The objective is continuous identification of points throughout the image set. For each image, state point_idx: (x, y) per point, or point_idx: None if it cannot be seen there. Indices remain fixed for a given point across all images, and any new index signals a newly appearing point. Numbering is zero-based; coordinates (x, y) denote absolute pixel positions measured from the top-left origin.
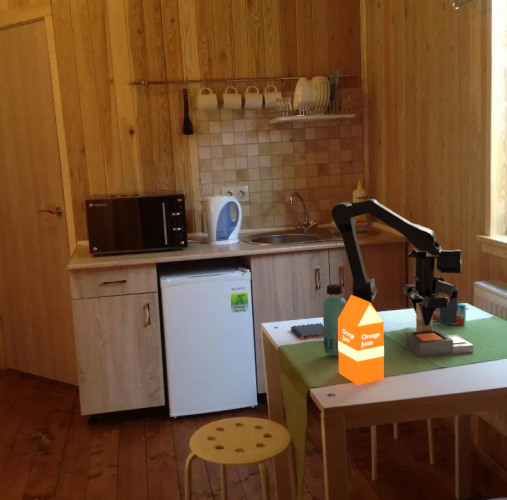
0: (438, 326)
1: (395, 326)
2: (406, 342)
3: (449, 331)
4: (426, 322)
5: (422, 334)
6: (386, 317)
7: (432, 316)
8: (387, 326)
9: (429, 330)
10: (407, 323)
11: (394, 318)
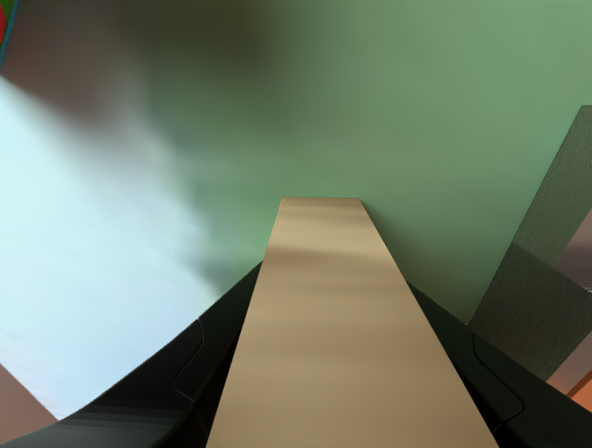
0: (187, 59)
1: (171, 303)
2: None
3: (341, 26)
4: None
5: (582, 397)
6: (13, 285)
7: (404, 281)
8: (170, 328)
9: (573, 354)
10: (115, 237)
11: (22, 260)
